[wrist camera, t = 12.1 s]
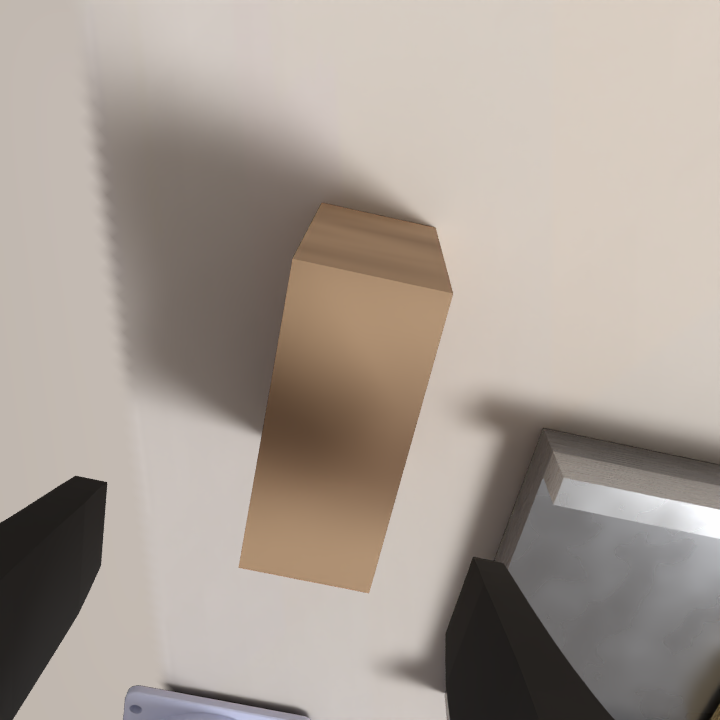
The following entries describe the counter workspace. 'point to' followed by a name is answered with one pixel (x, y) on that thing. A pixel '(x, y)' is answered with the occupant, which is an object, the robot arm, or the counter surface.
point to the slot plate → (623, 571)
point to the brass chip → (716, 714)
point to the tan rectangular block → (345, 395)
